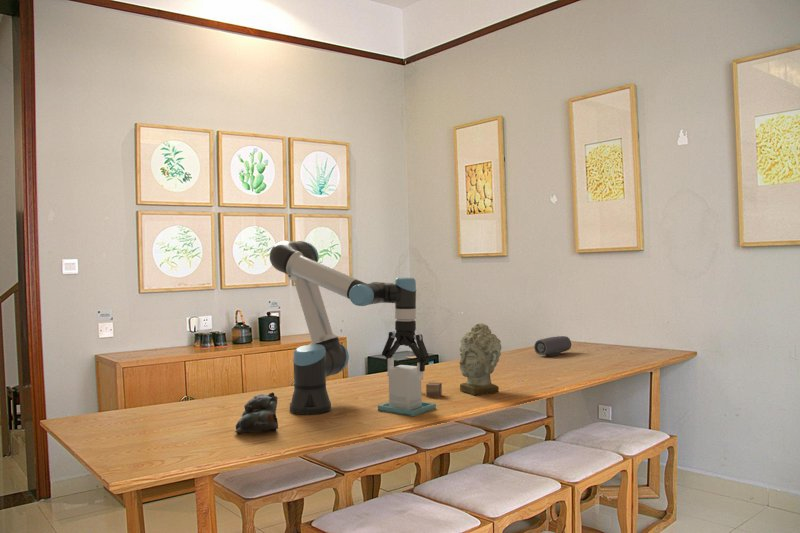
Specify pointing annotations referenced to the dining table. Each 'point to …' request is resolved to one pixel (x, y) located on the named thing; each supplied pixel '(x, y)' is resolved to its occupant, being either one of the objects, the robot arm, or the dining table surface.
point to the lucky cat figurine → (259, 414)
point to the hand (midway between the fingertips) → (405, 377)
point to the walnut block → (433, 389)
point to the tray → (414, 412)
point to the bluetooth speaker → (552, 345)
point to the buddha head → (479, 360)
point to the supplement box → (404, 387)
